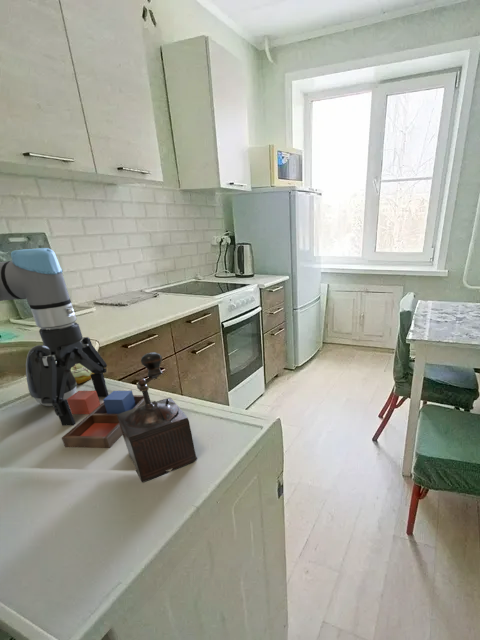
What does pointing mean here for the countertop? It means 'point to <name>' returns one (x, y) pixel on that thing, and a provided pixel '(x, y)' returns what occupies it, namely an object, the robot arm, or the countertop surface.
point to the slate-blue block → (119, 402)
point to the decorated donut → (81, 373)
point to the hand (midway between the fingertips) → (87, 410)
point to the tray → (97, 428)
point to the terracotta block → (83, 402)
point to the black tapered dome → (35, 374)
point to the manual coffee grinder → (156, 430)
